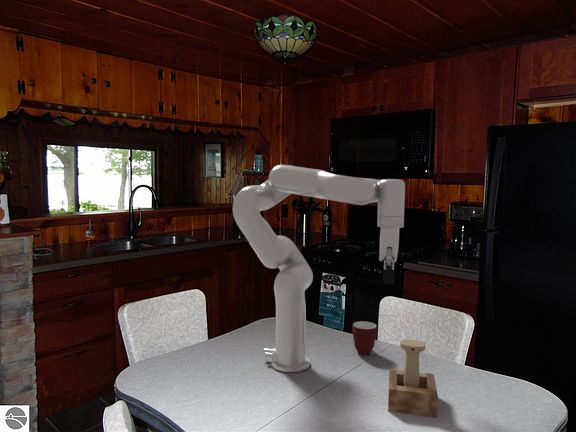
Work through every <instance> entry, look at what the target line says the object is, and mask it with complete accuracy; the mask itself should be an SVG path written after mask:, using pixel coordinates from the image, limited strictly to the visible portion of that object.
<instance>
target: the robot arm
mask: <svg viewBox="0 0 576 432" xmlns="http://www.w3.org/2000/svg"><path fill="white" fill-rule="evenodd" d="M405 186H406V182H405V181H404V180H403V179H397V178H386V179H385V178H384V179H376V178H365V177H355V176H348V175H341V174H334V173H330V172H327V171H326V170H323V169H316V168H309V167H308V168H307V167H302V166H294V165H290V164H289V165H288V164H278V165H276V166H273V168H272V169H270V171H269V175H268V179H267V180H266V181H264V182H263V183H261V184H260V185H247V186H246V187H243V188H241V190H240V191H238V192H237V194H236V196H235V197H234V200H233V203H232V215H233V218H234V221H235V223H236V225H237V226H238V228H239V230H240V231H241V232H242V234H243V235H244V237H245V239H246V240H247V241H248V244H249V245H250V246H251V248H252V249H253V251H254V252H255V255H257V257H258V259H259V261H260V262H261V263H262V264H263V265H264V267H266V268H268V269H279V272H278V274H277V275H276V277H275V280H274V283H273V291H274V298H275V347H273V348H265V347H264V348H263V350H262V351H263V352H262V353H263V354H264V357H265V358H271V359H270V365H271V367H272V368H273V369H274V370H277V371H279V372H284V373H299V372H302V371H304V370H308V369H309V367H310V365H311V360H310V358H309V357H308V356H306V339H307V338H306V330H307V329H306V328H307V326H306V325H307V323H306V322H307V317H306V316H307V315H306V314H307V313H306V312H307V309H306V307H307V306H306V298H305V291H306V290H307V289H308V288H309V287H310V286H311V285H312V283H313V279H314V275H313V274H314V273H313V270H312V268H311V266H310V265H309V264H308V263H309V262H307V260H306V259H305V258H304V255H303V254H302V253H301V251H300V250H299V249H298V247H297V246H296V244H295V243H294V241H292V240H291V238H289V237H287V236H285V235H277V234H276V233H275V231H274V230H273V229H272V227H271V225H270V224H269V222H268V221H267V220H266V219H265V218H264V217H263V216H262V215H261V213H260V212H262V211H267V210H269V209H272V208H273V207H274V206H276V205H277V204H278V203H280V202H281V201H283V200H284V199H285V198H287V197H288V196H290V195H291V194H293V195H299V196H304V197H310V198H311V197H312V198H316V199H321V200H329V201H334V202H339V203H340V202H341V203H347V204H350V205H351V204H352V205H359V206H364V205H368V204H371V203H377V226H376V227H379V228H380V233H379V259H378V260H379V261H380V262H382V261H383V269H382V283H383V284H390V285H394V284H395V278H396V277H395V273H396V272H395V271H396V269H395V267H396V262H397V260H398V253H399V246H400V245H399V244H400V243H399V242H400V229H401V228H404V227H405V226H404V223H405V200H406V199H405V195H406V187H405Z"/></svg>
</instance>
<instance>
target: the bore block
mask: <svg viewBox="0 0 576 432" xmlns="http://www.w3.org/2000/svg"><path fill="white" fill-rule="evenodd" d="M438 396H439V395H438V389H437V384H436V379H435V374H434V373H430V372H429V373H427V372H420V371H419V388H414V387H406V386H404V370H398V369H391V368H390V369H389V373H388V398H387V399H388V402H387V403H388V404H387V407H388V408H387V412H390V413H392V412H393V413H400V414H408V415H415V416H421V417H423V416H424V417H429V418H438Z"/></svg>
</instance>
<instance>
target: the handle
mask: <svg viewBox="0 0 576 432" xmlns="http://www.w3.org/2000/svg"><path fill="white" fill-rule="evenodd" d="M399 342H400V343H399V344H400V348H401V349H402V350H404V351H405V361H404V362H405V363H404V370H403V371H404V386H406V387H414V388H419V372H420V353H422V352H424V351H426V342H424V341H420V340H417V339H401V340H400V341H399Z"/></svg>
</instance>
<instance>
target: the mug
mask: <svg viewBox="0 0 576 432" xmlns="http://www.w3.org/2000/svg"><path fill="white" fill-rule="evenodd" d="M377 329H378V328H377V324H375V323H374V322H371V321H361V320H359V321H355V322H352V337H353V344H354V348H355V351H356V352H357V354H358V355H360V356H370V354H371V353H372V352H373V349H374V347H375V342H376V339H377V333H378V332H377Z"/></svg>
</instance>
